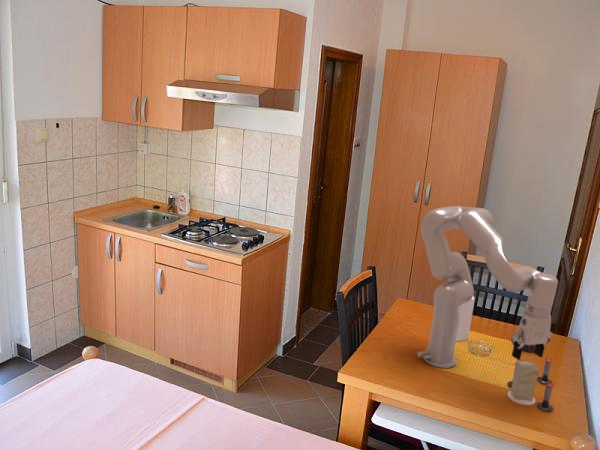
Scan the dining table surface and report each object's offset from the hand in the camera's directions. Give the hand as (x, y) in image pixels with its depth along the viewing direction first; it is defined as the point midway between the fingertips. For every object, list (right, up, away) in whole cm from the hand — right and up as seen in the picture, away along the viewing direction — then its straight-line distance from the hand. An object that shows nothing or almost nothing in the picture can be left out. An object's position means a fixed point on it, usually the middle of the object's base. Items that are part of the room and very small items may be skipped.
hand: (526, 356), depth 178 cm
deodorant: (+18, -8, +42) cm, 46 cm away
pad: (-1, -15, +3) cm, 15 cm away
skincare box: (-1, -15, +3) cm, 15 cm away
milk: (-9, -4, +48) cm, 49 cm away
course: (+9, -15, +7) cm, 19 cm away
